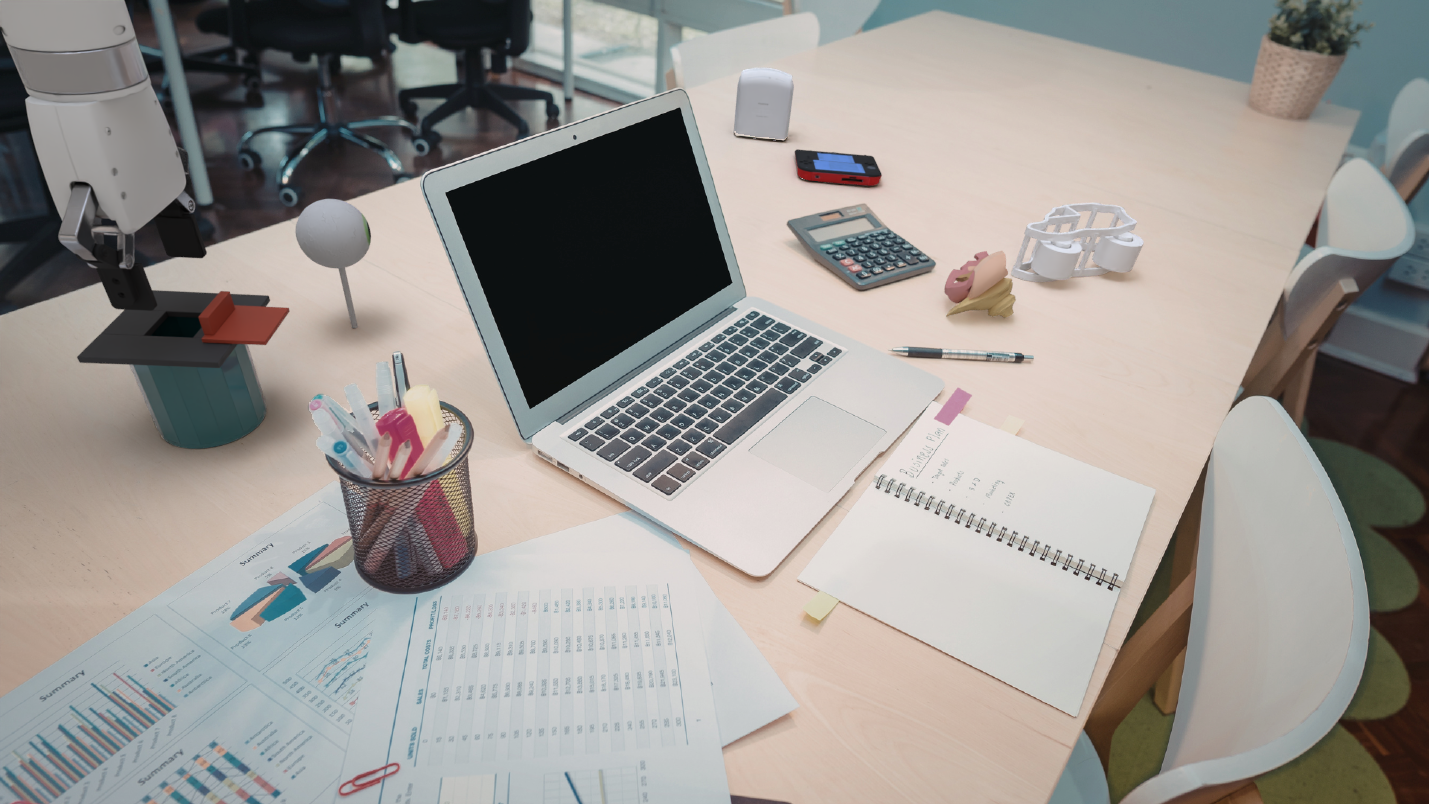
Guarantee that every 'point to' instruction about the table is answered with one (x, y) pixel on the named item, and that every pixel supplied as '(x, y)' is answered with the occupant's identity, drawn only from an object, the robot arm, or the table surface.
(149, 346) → the cup lid
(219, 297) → the slider
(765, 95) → the photo printer
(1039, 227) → the wheeled car silhouette
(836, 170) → the game console
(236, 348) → the cup
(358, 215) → the lollipop
